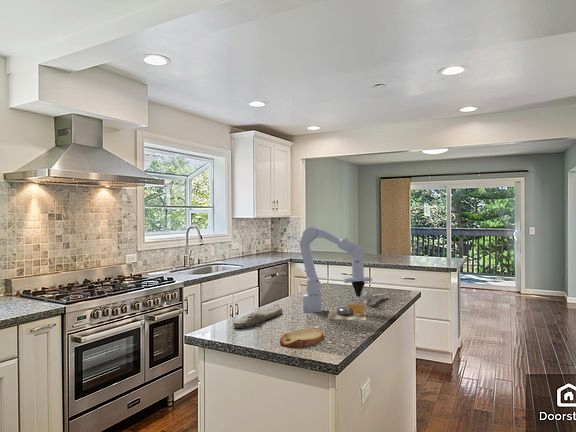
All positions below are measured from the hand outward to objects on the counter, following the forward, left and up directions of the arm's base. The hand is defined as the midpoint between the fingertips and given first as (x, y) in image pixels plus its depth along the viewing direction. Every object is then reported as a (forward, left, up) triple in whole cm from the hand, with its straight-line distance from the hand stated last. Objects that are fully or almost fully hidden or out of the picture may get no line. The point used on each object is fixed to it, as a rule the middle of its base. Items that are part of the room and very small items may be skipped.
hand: (358, 296), depth 196 cm
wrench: (+9, +26, -9) cm, 29 cm away
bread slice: (-23, -45, -9) cm, 51 cm away
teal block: (-1, -15, -8) cm, 17 cm away
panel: (-6, -7, -9) cm, 13 cm away
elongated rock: (-47, -18, -9) cm, 51 cm away
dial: (-4, -6, -7) cm, 10 cm away
